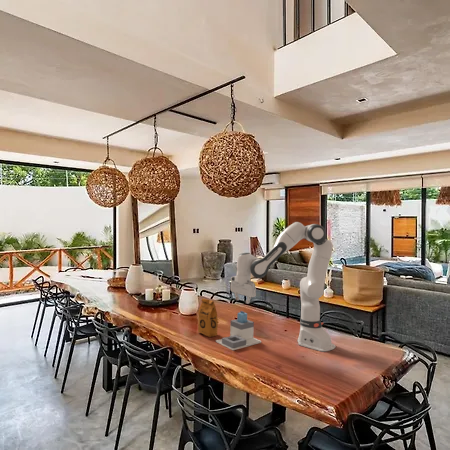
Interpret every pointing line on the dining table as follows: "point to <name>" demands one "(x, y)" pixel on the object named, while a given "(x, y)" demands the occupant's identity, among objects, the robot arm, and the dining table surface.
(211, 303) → the coffee package
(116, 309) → the dining table surface
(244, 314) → the plug
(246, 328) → the square socket plate
